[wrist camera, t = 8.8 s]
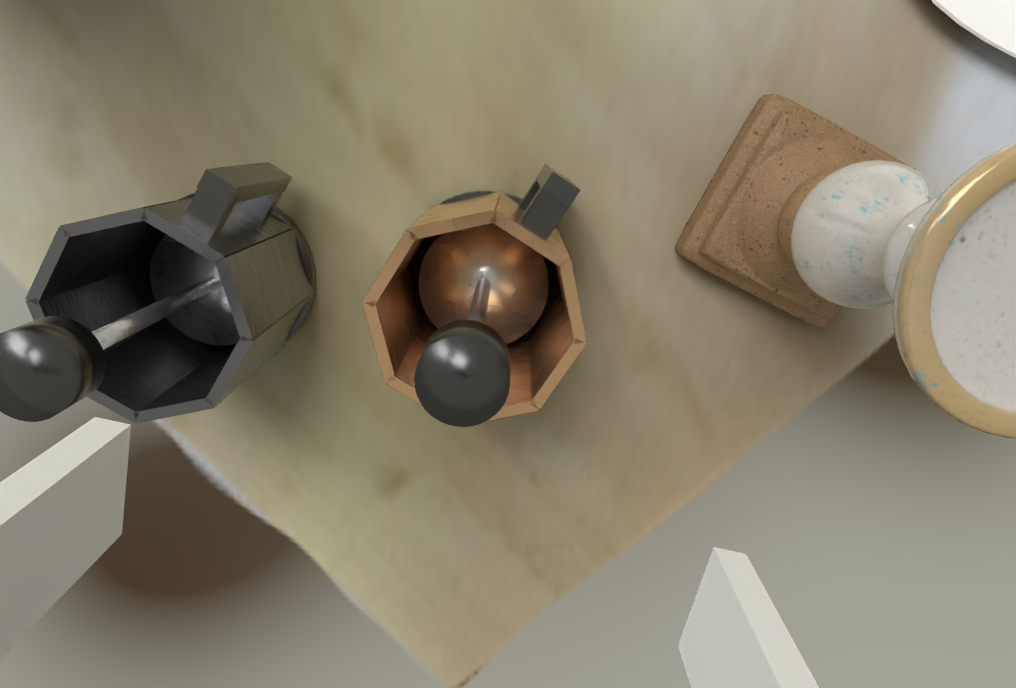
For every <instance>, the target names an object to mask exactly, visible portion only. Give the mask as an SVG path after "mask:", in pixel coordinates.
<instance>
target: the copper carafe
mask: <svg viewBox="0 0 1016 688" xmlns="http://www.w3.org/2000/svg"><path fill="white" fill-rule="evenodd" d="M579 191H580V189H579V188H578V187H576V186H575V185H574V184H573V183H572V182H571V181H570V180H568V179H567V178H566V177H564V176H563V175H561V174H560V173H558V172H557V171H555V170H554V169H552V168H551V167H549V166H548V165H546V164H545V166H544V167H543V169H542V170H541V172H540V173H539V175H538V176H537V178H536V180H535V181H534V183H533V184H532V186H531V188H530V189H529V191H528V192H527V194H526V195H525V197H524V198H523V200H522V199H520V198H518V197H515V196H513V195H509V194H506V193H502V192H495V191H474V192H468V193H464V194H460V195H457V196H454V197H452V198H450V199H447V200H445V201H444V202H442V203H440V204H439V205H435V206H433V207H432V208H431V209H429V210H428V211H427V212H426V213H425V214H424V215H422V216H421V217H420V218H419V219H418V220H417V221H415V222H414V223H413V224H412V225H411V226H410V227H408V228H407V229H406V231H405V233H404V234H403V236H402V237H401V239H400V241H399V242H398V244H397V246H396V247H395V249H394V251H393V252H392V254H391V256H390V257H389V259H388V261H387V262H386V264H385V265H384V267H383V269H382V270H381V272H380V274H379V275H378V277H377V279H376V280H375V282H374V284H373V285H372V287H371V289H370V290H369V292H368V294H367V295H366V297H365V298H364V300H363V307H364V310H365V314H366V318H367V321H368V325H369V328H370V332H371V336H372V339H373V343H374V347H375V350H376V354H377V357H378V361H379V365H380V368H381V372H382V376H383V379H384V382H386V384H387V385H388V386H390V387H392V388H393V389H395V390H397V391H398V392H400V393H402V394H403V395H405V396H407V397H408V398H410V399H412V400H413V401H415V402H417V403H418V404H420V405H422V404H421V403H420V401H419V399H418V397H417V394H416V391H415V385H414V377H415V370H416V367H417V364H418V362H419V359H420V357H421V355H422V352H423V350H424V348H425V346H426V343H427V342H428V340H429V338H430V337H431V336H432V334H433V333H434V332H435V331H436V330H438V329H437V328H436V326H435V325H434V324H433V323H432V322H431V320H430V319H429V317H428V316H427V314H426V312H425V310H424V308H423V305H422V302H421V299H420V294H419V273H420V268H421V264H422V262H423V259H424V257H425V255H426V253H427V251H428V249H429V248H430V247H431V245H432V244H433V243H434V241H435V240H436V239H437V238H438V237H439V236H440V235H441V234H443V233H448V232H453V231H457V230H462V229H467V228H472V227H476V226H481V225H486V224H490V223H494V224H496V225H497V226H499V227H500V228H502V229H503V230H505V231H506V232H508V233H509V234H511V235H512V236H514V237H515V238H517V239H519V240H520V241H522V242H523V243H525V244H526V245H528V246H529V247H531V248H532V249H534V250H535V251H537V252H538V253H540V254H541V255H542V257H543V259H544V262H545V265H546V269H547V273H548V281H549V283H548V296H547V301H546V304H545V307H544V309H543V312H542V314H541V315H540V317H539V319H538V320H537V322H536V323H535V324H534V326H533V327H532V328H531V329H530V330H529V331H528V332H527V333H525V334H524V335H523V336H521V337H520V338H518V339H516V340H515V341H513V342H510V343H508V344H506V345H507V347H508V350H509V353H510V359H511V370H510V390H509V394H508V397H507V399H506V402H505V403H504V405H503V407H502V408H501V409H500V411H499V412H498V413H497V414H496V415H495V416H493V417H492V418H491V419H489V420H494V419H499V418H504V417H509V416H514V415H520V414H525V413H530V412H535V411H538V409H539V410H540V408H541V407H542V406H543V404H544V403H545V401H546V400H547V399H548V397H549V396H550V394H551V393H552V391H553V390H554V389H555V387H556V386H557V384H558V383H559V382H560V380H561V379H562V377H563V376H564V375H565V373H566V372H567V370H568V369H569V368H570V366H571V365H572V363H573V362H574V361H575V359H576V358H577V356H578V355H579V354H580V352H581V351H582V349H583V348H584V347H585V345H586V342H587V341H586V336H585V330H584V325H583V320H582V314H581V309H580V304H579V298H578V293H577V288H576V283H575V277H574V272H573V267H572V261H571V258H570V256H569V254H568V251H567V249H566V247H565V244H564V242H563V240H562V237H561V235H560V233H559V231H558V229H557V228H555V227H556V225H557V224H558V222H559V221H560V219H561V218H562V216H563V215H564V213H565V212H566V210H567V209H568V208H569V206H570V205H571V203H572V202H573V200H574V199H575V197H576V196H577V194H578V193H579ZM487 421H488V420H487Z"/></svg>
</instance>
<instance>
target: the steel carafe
mask: <svg viewBox="0 0 1016 688" xmlns="http://www.w3.org/2000/svg"><path fill="white" fill-rule="evenodd" d="M291 178H292V177H291V176H289V175H288V174H286V173H285V172H283V171H282V170H280V169H278V168H277V167H275V166H274V165H272V164H271V163H269V162H267V163H258V164H249V165H240V166H231V167H222V168H213V169H206V170H205V172H204V174H203V176H202V178H201V180H200V182H199V184H198V186H197V188H198V189H197V191H196V193H194V194H191V195H188V196H186V197H184V198H181V199H179V200H177V201H173V202H168V203H163V204H158V205H152V206H147V207H142V208H138V209H133V210H129V211H124V212H120V213H115V214H111V215H106V216H102V217H97V218H93V219H88V220H84V221H79V222H75V223H70V224H66V225H61V227H59V228H58V230H57V232H56V234H55V237H54V239H53V241H52V243H51V245H50V247H49V249H48V252H47V254H46V256H45V258H44V260H43V262H42V265H41V267H40V269H39V271H38V273H37V275H36V277H35V280H34V282H33V284H32V286H31V288H30V290H29V292H28V295H27V297H26V299H27V300H26V303H27V305H28V308H29V310H30V312H31V314H32V317H33V320H37V319H40V318H43V317H48V316H61V317H66V318H69V319H72V320H75V321H77V322H79V323H80V324H82V325H83V326H85V327H86V328H87V329H89V330H90V331H91V332H93V331H95V330H97V329H100V328H102V327H104V326H106V325H108V324H110V323H113V322H115V321H117V320H119V319H121V318H123V317H125V316H128V315H130V314H132V313H134V312H136V311H138V310H140V309H143V308H145V307H147V306H149V305H151V304H153V303H156V301H155V299H154V296H153V293H152V289H151V284H150V264H151V260H152V256H153V253H154V251H155V249H156V247H157V245H158V243H159V242H160V240H161V239H162V238H163V237H164V236H165V235H166V234H167V235H169V236H170V237H172V238H173V239H175V240H177V241H178V242H180V243H182V244H183V245H185V246H187V247H188V248H190V249H192V250H193V251H195V252H197V253H198V254H200V255H202V256H203V257H205V258H207V259H208V260H210V261H212V262H213V263H215V264H216V266H217V270H218V273H219V276H220V279H221V282H222V285H223V288H224V291H225V294H226V297H227V300H228V303H229V306H230V309H231V312H232V315H233V318H234V321H235V324H236V327H237V330H238V333H239V336H240V339H239V341H238V343H237V344H232V345H212V344H207V343H203V342H200V341H197V340H194V339H192V338H190V337H188V336H186V335H185V334H183V333H182V332H180V331H179V330H178V329H177V328H175V327H174V326H173V325H172V324H171V323H170V322H169V321H168V320H167V319H166V317H165V318H163V319H161V320H159V321H157V322H156V323H154V324H152V325H150V326H148V327H146V328H144V329H142V330H140V331H138V332H136V333H134V334H133V335H131V336H129V337H127V338H125V339H123V340H121V341H119V342H117V343H115V344H113V345H111V346H109V347H108V348H106V349H104V350H103V351H104V354H105V359H106V372H105V376H104V378H103V381H102V383H101V384H100V386H99V387H98V388H97V389H96V390H95V391H94V392H93V393H91V394H89V395H88V396H87V397H89V398H91V399H93V400H95V401H96V402H98V403H100V404H102V405H103V406H105V407H107V408H109V409H111V410H112V411H114V412H116V413H118V414H119V415H121V416H123V417H125V418H127V419H129V420H130V421H132V422H134V423H135V422H136V423H141V422H146V421H151V420H156V419H161V418H166V417H171V416H176V415H181V414H186V413H191V412H196V411H201V410H206V409H211V408H214V407H216V406H217V405H218V404H219V403H220V402H221V401H222V400H223V399H225V398H226V397H227V396H228V395H229V394H230V393H231V392H232V391H233V390H235V389H236V388H237V387H238V386H239V385H240V384H241V383H242V382H243V381H244V380H246V379H247V378H248V377H249V376H250V375H251V374H252V373H253V372H254V371H256V370H257V369H258V368H259V367H260V366H261V365H262V364H263V363H264V362H266V361H267V360H268V359H269V358H270V357H271V356H272V355H273V354H274V353H275V352H277V351H278V350H279V349H280V348H281V347H282V346H283V345H284V343H285V342H286V341H287V340H288V339H289V338H290V337H291V336H293V335H294V334H295V332H296V331H297V330H298V329H299V328H300V327H301V326H302V324H303V323H304V321H305V320H306V318H307V316H308V314H309V312H310V310H311V307H312V304H313V301H314V296H315V291H316V272H315V265H314V261H313V257H312V254H311V251H310V248H309V246H308V244H307V242H306V240H305V238H304V236H303V235H302V233H301V232H300V230H299V229H298V227H297V226H296V225H295V224H294V223H293V221H292V220H291V219H290V218H289V217H288V216H287V215H286V214H285V213H283V212H282V211H281V210H280V209H279V208H277V207H276V204H277V202H278V200H279V199H280V197H281V195H282V193H283V192H284V191H285V189H286V187H287V186H288V184H289V182H290V180H291Z"/></svg>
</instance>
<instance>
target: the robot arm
mask: <svg viewBox="0 0 1016 688" xmlns="http://www.w3.org/2000/svg"><path fill="white" fill-rule="evenodd" d="M130 429H131V425H130V424H126V423H121V422H116V421H111V420H107V419H102V418H97V417H95V418H93V419H92V420H90V421H89V422H87V423H86V424H85V425H83V426H81V427H80V428H78V429H77V430H76V431H74V432H73V433H71V434H70V435H68V436H67V437H66V438H64V439H63V440H61V441H60V442H58V443H57V444H55V445H54V446H53V447H51V448H49V449H48V450H47V451H45V452H44V453H42V454H41V455H39V456H38V457H37V458H35V459H33V460H32V461H31V462H30V463H28V464H26V465H25V466H23V467H22V468H20V469H19V470H18V471H16V472H15V473H13V474H12V475H10V476H9V477H8V478H6V479H5V480H3V481H2V482H0V659H1V658H2V657H3V656H4V655H5V654H6V653H7V652H8V651H9V650H10V649H11V648H12V647H13V646H14V645H15V644H16V643H17V642H18V641H19V640H20V639H21V638H22V637H23V636H24V635H25V633H26V632H28V630H29V629H30V628H31V627H32V626H33V625H34V624H35V623H36V622H37V621H38V620H39V619H40V618H41V617H42V616H43V615H44V614H45V613H46V612H47V611H48V610H49V609H50V608H51V607H52V606H53V605H54V604H55V602H56V601H57V600H58V599H59V598H60V597H61V596H62V595H63V594H64V593H65V592H66V591H67V590H68V589H69V588H70V587H71V586H72V585H73V584H74V583H75V582H76V581H77V580H78V579H79V578H80V577H81V576H82V575H83V574H84V573H85V571H86V570H87V569H88V568H89V567H90V566H91V565H92V564H93V563H94V562H95V561H96V560H97V559H98V558H99V557H100V556H101V555H102V554H103V553H104V552H105V551H106V550H107V549H108V548H109V547H110V546H111V545H112V544H113V543H114V541H115V540H116V539H117V538H118V537H119V536H120V535H121V534H122V525H123V513H124V500H125V489H126V477H127V464H128V453H129V441H130ZM678 648H679V651H680V654H681V657H682V660H683V664H684V667H685V670H686V673H687V676H688V679H689V682H690V685H691V688H819V687H818V685H817V683H816V682H815V680H814V678H813V676H812V674H811V673H810V671H809V669H808V667H807V665H806V663H805V661H804V659H803V658H802V656H801V654H800V652H799V650H798V648H797V647H796V645H795V643H794V641H793V639H792V637H791V636H790V634H789V632H788V630H787V628H786V626H785V625H784V623H783V621H782V620H781V617H780V616H779V614H778V612H777V610H776V608H775V606H774V604H773V603H772V601H771V599H770V597H769V595H768V594H767V592H766V590H765V588H764V586H763V584H762V583H761V581H760V579H759V577H758V575H757V573H756V572H755V570H754V568H753V566H752V564H751V562H750V561H749V559H748V557H747V555H746V554H744V553H739V552H735V551H730V550H725V549H720V548H716V547H714V548H713V550H712V553H711V556H710V558H709V561H708V564H707V567H706V570H705V572H704V575H703V578H702V581H701V583H700V586H699V589H698V592H697V594H696V597H695V600H694V603H693V606H692V608H691V611H690V614H689V617H688V620H687V622H686V625H685V628H684V630H683V633H682V636H681V639H680V642H679V644H678Z"/></svg>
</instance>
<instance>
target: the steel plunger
mask: <svg viewBox="0 0 1016 688" xmlns="http://www.w3.org/2000/svg"><path fill="white" fill-rule="evenodd" d="M150 284H151V289H152V293H153V296H154V299H155V301H156V303H153V304H151V305H149V306H147V307H145V308H143V309H140V310H138V311H136V312H134V313H132V314H130V315H128V316H125V317H123V318H121V319H119V320H117V321H115V322H113V323H110V324H108V325H106V326H104V327H102V328H100V329H97V330H95V331H93V332H91V331H90V330H89V329H87V328H86V327H85V326H83V325H82V324H80V323H79V322H77V321H75V320H72V319H69V318H66V317H61V316H48V317H43V318H40V319H37V320H34V321H32V322H29V323H27V324H24V325H21V326H19V327H16V328H14V329H11V330H9V331H6V332H3V333H1V334H0V411H1V412H2V413H4V414H5V415H8V416H10V417H12V418H15V419H18V420H23V421H29V422H30V421H31V422H35V421H43V420H46V419H49V418H51V417H53V416H55V415H56V414H58V413H60V412H61V411H63V410H65V409H66V408H68V407H70V406H71V405H73V404H75V403H76V402H78V401H79V400H81V399H83V398H84V397H86V396H88V395H89V394H91V393H93V392H94V391H95V390H96V389H97V388H98V387H99V386H100V384H101V383H102V381H103V378H104V376H105V372H106V359H105V354H104V351H103V350H104V349H106V348H108V347H109V346H111V345H113V344H115V343H117V342H119V341H121V340H123V339H125V338H127V337H129V336H131V335H133V334H134V333H136V332H138V331H140V330H142V329H144V328H146V327H148V326H150V325H152V324H154V323H156V322H157V321H159V320H161V319H163V318H165V317H166V319H167V320H168V321H169V322H170V323H171V324H172V325H173V326H174V327H175V328H177V329H178V330H179V331H180V332H182V333H183V334H185V335H186V336H188V337H190V338H192V339H194V340H197V341H200V342H203V343H207V344H212V345H232V344H237V343H238V341H239V339H240V336H239V333H238V330H237V327H236V324H235V321H234V318H233V315H232V312H231V309H230V306H229V303H228V300H227V297H226V294H225V291H224V288H223V285H222V282H221V279H220V276H219V273H218V270H217V266H216V264H215V263H213V262H212V261H210V260H208V259H207V258H205V257H203V256H202V255H200V254H198V253H197V252H195V251H193V250H192V249H190V248H188V247H187V246H185V245H183V244H182V243H180V242H178V241H177V240H175V239H173V238H172V237H170V236H169V235H167V234H166V235H165V236H164V237H163V238H162V239H161V240H160V242H159V243H158V245H157V247H156V249H155V251H154V253H153V256H152V260H151V264H150Z"/></svg>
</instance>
